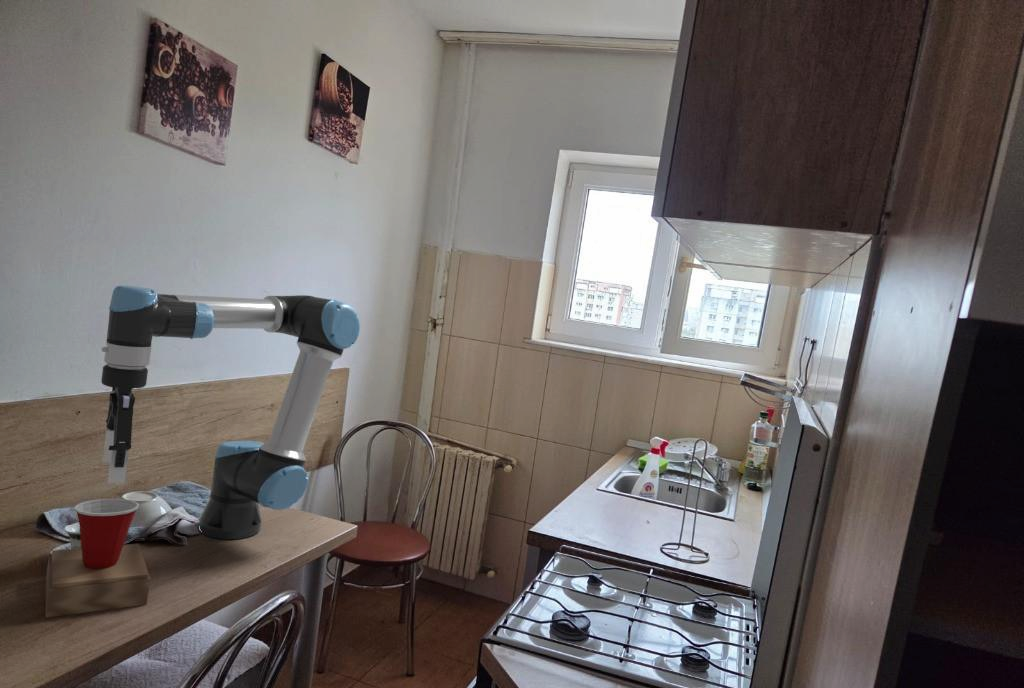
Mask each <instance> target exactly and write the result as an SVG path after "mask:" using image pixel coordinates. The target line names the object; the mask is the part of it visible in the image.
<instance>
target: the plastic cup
mask: <svg viewBox="0 0 1024 688" xmlns="http://www.w3.org/2000/svg"><path fill="white" fill-rule="evenodd" d="M139 508H140V504H139V502H137V501H134V500H132V499H131V500H130V499H126V498H99V499H91V500H87V501H83V502H79V503H77V504H76V505H75V506H74V511H75V513H77V514H76V515H77V519H78V524H79V533H80V548H81V549H82V560H83V565H84V566H85V567H86V568H90V569H104V568H109V567H112V566H114V565H115V564H116V563H117V561H118V560H119V557H120V553H121V550H122V547H123V546H124V545H125V541H126V539H127V536H128V534H129V531H130V530H129V529H130V527H131V523H132V521H133V519H134V516H135V514H136V512H137V510H138V509H139Z"/></svg>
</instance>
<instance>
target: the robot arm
mask: <svg viewBox="0 0 1024 688" xmlns="http://www.w3.org/2000/svg"><path fill="white" fill-rule="evenodd" d="M108 310H109V312H108V313H109V314H108V324H107V333H106V334H107V335H106V345H105V346H102V347H101V352H102V353H104V358H103V362H104V363H105V365H104V366H103V367H102V373H101V381H100V382H101V384H102V385H103V386H104V387H105V386H106V387H110V388H112V389H111V392H110V393H109V398H108V399H109V403H108V404H109V405H108V411H107V417H106V419H105V422H106V425H105V427H106V430H105V436H104V437H105V439H104V447H103V454H102V463H109V468H108V469H109V470H108V479H107V484H126V477H127V469H128V459H129V451H130V450H131V449H132V433H133V415H134V405H135V402H136V396H134V393H133V392H132V390H134V389H142V388H144V387H145V386H146V385H147V381H148V372H149V369H148V368H147V367H148V366H149V365H150V359H151V352H152V341H153V337H158V338H160V337H162V338H163V337H164V338H179V339H180V338H183V339H190V340H192V339H204V338H207V337H208V336H209V335H210V334H211V333H212V331H213V329H256V330H257V329H262V330H264V331H265V332H266V333H278V334H283V335H284V334H285V335H289V336H292V337H295V338H298V339H297V340H296V345H297V348H298V349H299V354H298V355H297V359H296V362H295V365H294V368H293V370H292V373H291V376H290V379H289V382H288V385H287V388H286V390H285V393H284V397H283V399H282V402H281V405H280V408H279V411H278V414H277V416H276V419H275V422H274V425H273V427H272V430H271V433H270V436H269V439H268V441H267V442H266V443H264V442H260V441H254V440H233V441H232V440H231V441H226V442H223V443H221V444H219V445H218V446H217V448H216V453H215V456H214V465H213V473H212V479H211V480H212V481H211V485H210V486H211V488H210V495H209V499H208V501H207V503H206V506H205V507H204V509H203V511H202V513H201V515H200V517H199V520H198V525H199V526H200V529H201V531H202V533H203V535H204V536H207V537H210V538H214V539H219V540H220V539H221V540H237V539H238V540H239V539H245V538H249V536H250V537H252V535H253V536H255V535H257V534H258V533H259V532H260V531H261V529H262V523H263V522H262V515H261V510H260V506H262V507H263V508H268V509H271V510H273V511H274V510H275V511H282V510H283V511H284V510H286V509H289V508H291V507H293V505H294V504H296V503H298V502H299V501H300V499H302V497H303V496H304V494H305V493H306V490H307V488H308V485H309V477H308V473H307V471H306V469H305V468H304V466H305V463H306V461H307V458H306V455H305V454H304V447H305V446H306V445H305V444H306V442H307V439H308V436H309V433H310V430H311V427H312V424H313V421H314V418H315V416H316V412H317V409H318V408H319V404H320V401H321V398H322V395H323V393H324V389H325V387H326V383H327V381H328V377H329V374H330V372H331V368H332V366H333V362H335V361H336V360H338V359H340V358H342V356H343V352H344V350H345V349H349V348H351V347H352V345H354V344H355V343H356V341H357V339H358V337H359V335H360V330H361V329H360V328H361V326H360V325H361V322H360V319H359V317H358V313H357V311H356V310H355V309H354V308H353V306H352V305H350V304H348V303H346V302H342V301H340V300H336V299H328V298H322V297H317V296H313V295H303V294H302V295H300V294H299V295H297V294H296V295H267V296H265V297H264V298H245V297H223V296H207V295H185V294H184V295H183V294H167V293H166V294H165V293H164V294H162V293H158V292H157V290H155V289H152V288H148V287H141V286H132V285H118V286H116V287H114V289H113V291H112V295H111V299H110V304H109V307H108ZM202 533H201V534H202ZM256 533H257V534H256Z"/></svg>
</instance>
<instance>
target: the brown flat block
mask: <svg viewBox="0 0 1024 688" xmlns="http://www.w3.org/2000/svg"><path fill="white" fill-rule="evenodd" d="M147 566H148V565H147V564H146V561H145V556H144V554H143V550H142V547H141V545H140V543H130V544H124V546H123V547H122V550H121V553H120V557H119V560H118V561H117V563H116V564H115V565H114V566H112V567H109V568H104V569H90V568H86V567H85V566H84V565H83V560H82V549H81V547H80V548H69V549H66V548H65V549H57V550H52V551H51V553H49V554H48V560H47V567H46V576H45V618H53V617H54V618H56V617H60V616H61V617H62V616H69V615H76V614H77V615H78V614H85V613H92V612H99V611H107V610H114V609H115V610H116V609H123V608H131V607H138V606H145V605H146V604H148V599H149V591H150V585H151V584H150V583H151V577H150V574H149V571H148V567H147Z"/></svg>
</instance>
